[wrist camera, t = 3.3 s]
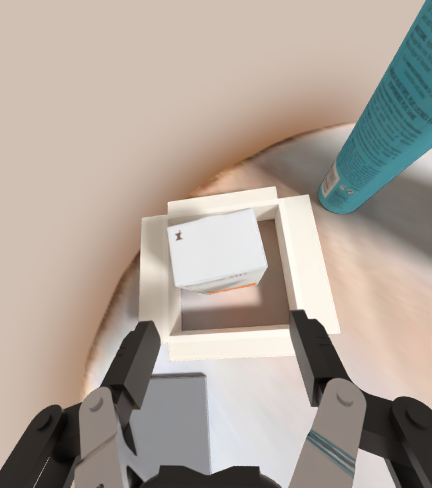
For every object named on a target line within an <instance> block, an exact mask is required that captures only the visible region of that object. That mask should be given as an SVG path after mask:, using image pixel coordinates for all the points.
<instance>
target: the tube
mask: <svg viewBox="0 0 432 488" xmlns="http://www.w3.org/2000/svg"><path fill="white" fill-rule="evenodd" d="M431 148H432V0H426V1H425V3H424V5H423V6H422V8H421V10H420V12H419V14H418V15H417V17H416V19H415V21H414V22H413V24H412V26H411V28H410V30H409V32H408V33H407V35H406V37H405V39H404V40H403V42H402V44H401V46H400V47H399V49H398V51H397V53H396V55H395V56H394V58H393V60H392V62H391V63H390V65H389V67H388V69H387V71H386V72H385V74H384V76H383V78H382V79H381V81H380V83H379V85H378V87H377V88H376V90H375V92H374V94H373V95H372V97H371V99H370V101H369V102H368V104H367V106H366V108H365V110H364V111H363V113H362V115H361V117H360V118H359V120H358V122H357V124H356V125H355V127H354V129H353V130H352V132H351V134H350V136H349V138H348V139H347V141H346V143H345V145H344V146H343V148H342V150H341V151H340V153H339V155H338V157H337V158H336V160H335V162H334V163H333V165H332V167H331V169H330V170H329V172H328V174H327V176H326V177H325V179H324V181H323V182H322V184H321V186H320V188H319V191H318V198H319V200H320V202H321V204H322V205H323V206H324V207H325V208H326V209H327V210H329V211H331V212H333V213H338V214H347V213H350V212H353V211H354V210H356V209H357V208H358V207H360V206H361V205H362V204H363V203H364V202H366V201H367V200H368V199H369V198H370V197H372V196H373V195H374V194H375V193H376V192H378V191H379V190H380V189H381V188H382V187H384V186H385V185H386V184H387V183H389V182H390V181H391V180H392V179H393V178H395V177H396V176H397V175H398V174H400V173H401V172H402V171H403V170H405V169H406V168H407V167H408V166H409V165H411V164H412V163H413V162H414V161H416V160H417V159H418V158H420V157H421V156H422V155H423V154H425V153H426V152H427V151H428V150H430V149H431Z"/></svg>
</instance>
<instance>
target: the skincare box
mask: <svg viewBox="0 0 432 488" xmlns="http://www.w3.org/2000/svg"><path fill="white" fill-rule="evenodd" d="M166 231H167V238H168V244H169V251H170V257H171V264H172V271H173V278H174V285H175V287H178V288H182V289H186V290H191V291H195V292H199V293H203V294H207V295H211V294H215V293H219V292H224V291H228V290H233V289H238V288H243V287H249V286H254V285H258V283H259V281H260V280H261V278H262V276H263V274H264V272H265V270H266V269H267V267H268V265H267V260H266V256H265V252H264V248H263V244H262V240H261V236H260V232H259V228H258V224H257V220H256V216H255V213H254V209H253V208H246V209H242V210H238V211H234V212H229V213H225V214H220V215H213V216H208V217H204V218H201V219H198V220H194V221H190V222H187V223H182V224H178V225H174V226H170V227H167V228H166Z"/></svg>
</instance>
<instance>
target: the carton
mask: <svg viewBox="0 0 432 488" xmlns="http://www.w3.org/2000/svg"><path fill="white" fill-rule="evenodd" d="M246 208H253V209H254V213H255V216H256V220H257V221H263V220H270V219H274V220H275V226H276V232H277V238H278V244H279V249H280V255H281V261H282V267H283V273H284V279H285V285H286V291H287V297H288V303H289V308H290V310H298V309H304V310H305V312H306V315H307V317H308V319H317V320H318V321H319V322H320V323H321V324H322V325H323V326H324V328H325V330H326V332H327V334H338V333H340V328H339V324H338V320H337V315H336V311H335V307H334V302H333V298H332V294H331V289H330V285H329V281H328V276H327V272H326V268H325V263H324V259H323V255H322V250H321V246H320V241H319V237H318V233H317V228H316V224H315V220H314V215H313V211H312V207H311V202H310V198H309V194H308V195H301V196H294V197H287V198H279V199H278V198H277V192H276V186H273V187H267V188H260V189H253V190H246V191H239V192H233V193H226V194H219V195H212V196H205V197H199V198H192V199H185V200H178V201H172V202H168V214H165V215H158V216H151V217H144V218H142V225H141V256H140V287H139V319H138V322H140V321H150V320H152V321H153V322H154V324H155V326H156V328H157V331H158V333H159V335H160V339H161V344H165V343H169V361H185V360H206V359H228V358H250V357H271V356H293V355H296V354H295V351H294V348H293V344H292V341H291V337H290V331H289V324H284V325H269V326H254V327H238V328H223V329H207V330H192V331H182V314H181V288H178V287H175V285H174V278H173V271H172V264H171V257H170V251H169V244H168V238H167V231H166V228H167V227H170V226H174V225H178V224H182V223H187V222H190V221H194V220H198V219H201V218H204V217H208V216H213V215H220V214H225V213H229V212H234V211H238V210H242V209H246Z"/></svg>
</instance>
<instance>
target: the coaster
mask: <svg viewBox="0 0 432 488" xmlns="http://www.w3.org/2000/svg"><path fill="white" fill-rule="evenodd" d="M130 418H131V421H132V425H133V429H134V433H135V437H136V441H137V445H138V449H139V453H140V457H141V460H142V463H143V465H144V467H145V469H146V472H147V475H148V478H149V479H150V478H151V477H153V476H155V475H156V474H158V473H159V468H160V465H183V466H186V467H188V468H190V469H193V470H195V471H197V472H200V473H202V474H204V475H211V457H210V438H209V419H208V401H207V382H206V376H191V377H163V378H150V381H149V384H148V387H147V391H146V394H145V397H144V400H143V403H142V407H141V410H132V413H131V416H130Z"/></svg>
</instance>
